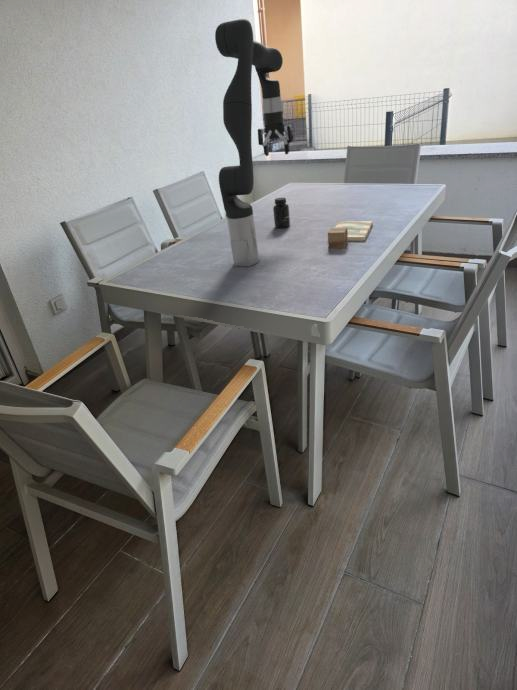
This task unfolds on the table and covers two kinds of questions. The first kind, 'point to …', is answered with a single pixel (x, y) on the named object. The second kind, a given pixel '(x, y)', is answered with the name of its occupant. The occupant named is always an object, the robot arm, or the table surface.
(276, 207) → the supplement bottle
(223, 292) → the table surface
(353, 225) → the birch board
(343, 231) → the walnut block
